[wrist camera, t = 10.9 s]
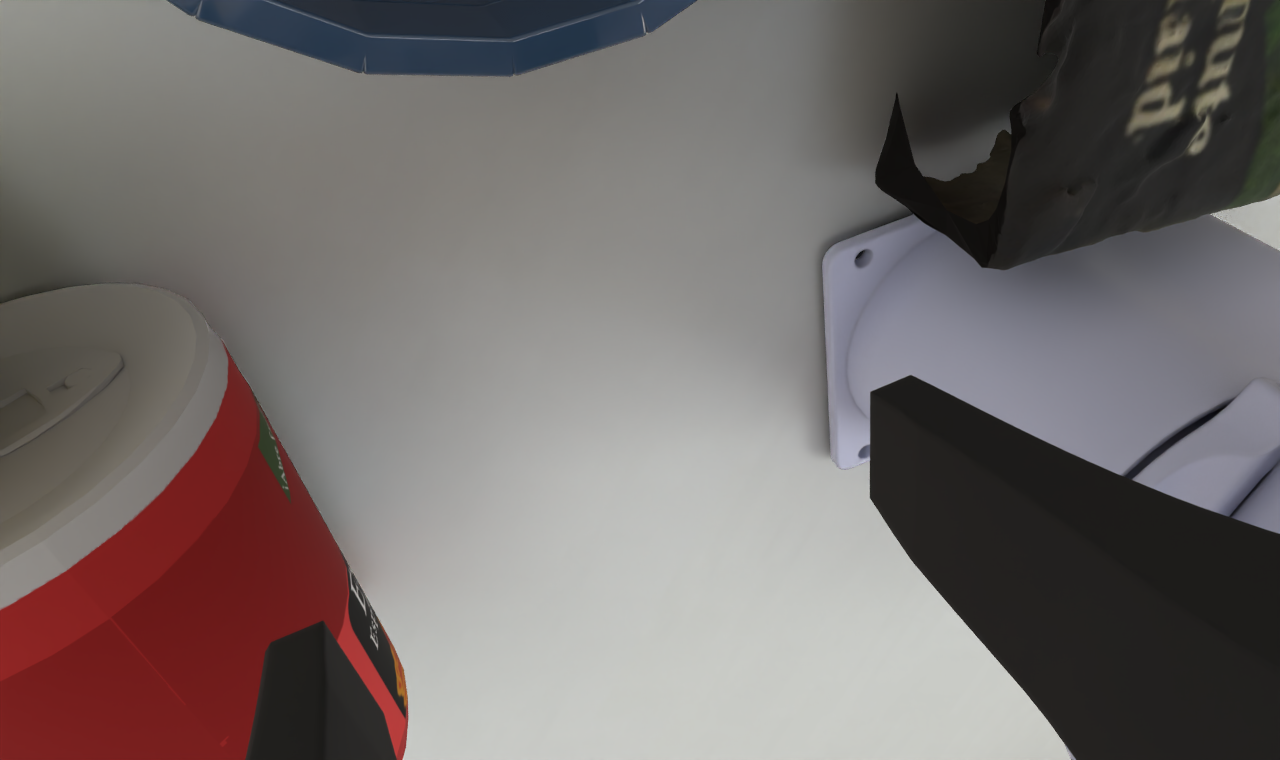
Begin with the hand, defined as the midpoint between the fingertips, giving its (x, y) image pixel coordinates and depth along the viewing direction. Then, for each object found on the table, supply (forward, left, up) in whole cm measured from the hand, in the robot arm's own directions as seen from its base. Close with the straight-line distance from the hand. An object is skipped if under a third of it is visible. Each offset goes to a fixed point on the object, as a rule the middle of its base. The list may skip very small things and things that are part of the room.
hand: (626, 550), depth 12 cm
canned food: (+9, +10, -7) cm, 15 cm away
